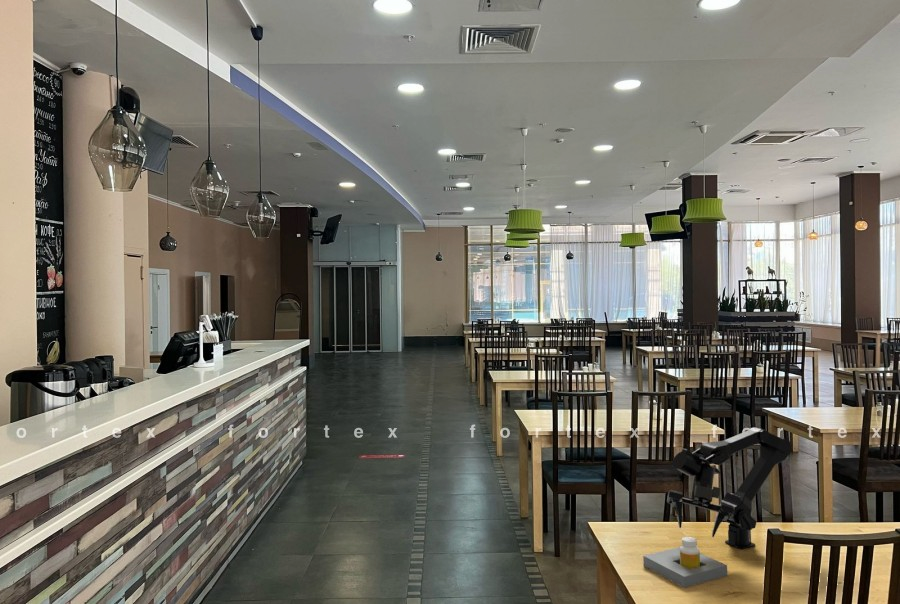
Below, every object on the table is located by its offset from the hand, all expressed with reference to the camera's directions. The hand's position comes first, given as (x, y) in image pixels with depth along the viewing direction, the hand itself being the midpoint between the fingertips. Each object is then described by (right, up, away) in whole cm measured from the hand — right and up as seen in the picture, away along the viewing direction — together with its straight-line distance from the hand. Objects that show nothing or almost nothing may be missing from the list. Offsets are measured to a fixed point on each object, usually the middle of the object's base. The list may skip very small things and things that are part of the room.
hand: (696, 532), depth 183 cm
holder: (-6, -9, -6) cm, 12 cm away
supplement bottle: (-5, -9, -8) cm, 13 cm away
